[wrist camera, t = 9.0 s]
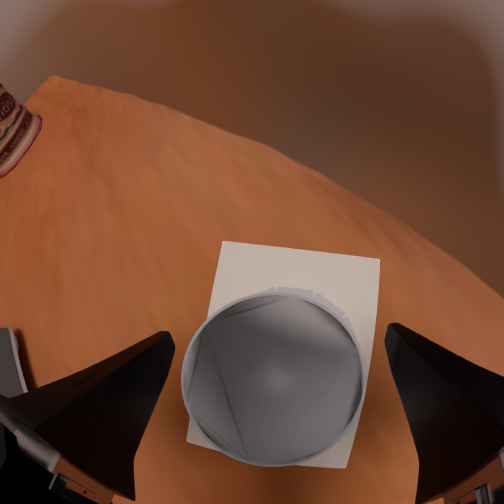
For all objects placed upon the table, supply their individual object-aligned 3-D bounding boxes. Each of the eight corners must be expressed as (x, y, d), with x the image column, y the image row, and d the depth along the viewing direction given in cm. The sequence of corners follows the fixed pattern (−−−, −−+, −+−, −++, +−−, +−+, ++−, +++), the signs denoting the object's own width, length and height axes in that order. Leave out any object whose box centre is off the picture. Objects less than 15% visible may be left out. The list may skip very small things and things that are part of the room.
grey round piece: (302, 414, 17) (306, 491, 6) (227, 377, 18) (152, 409, 8) (342, 341, 18) (398, 338, 7) (267, 304, 19) (234, 259, 9)
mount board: (344, 464, 15) (349, 478, 13) (189, 438, 18) (176, 449, 15) (377, 262, 20) (387, 250, 17) (225, 244, 22) (216, 231, 20)
